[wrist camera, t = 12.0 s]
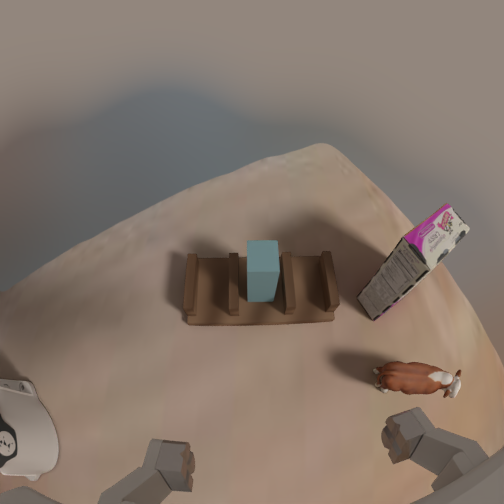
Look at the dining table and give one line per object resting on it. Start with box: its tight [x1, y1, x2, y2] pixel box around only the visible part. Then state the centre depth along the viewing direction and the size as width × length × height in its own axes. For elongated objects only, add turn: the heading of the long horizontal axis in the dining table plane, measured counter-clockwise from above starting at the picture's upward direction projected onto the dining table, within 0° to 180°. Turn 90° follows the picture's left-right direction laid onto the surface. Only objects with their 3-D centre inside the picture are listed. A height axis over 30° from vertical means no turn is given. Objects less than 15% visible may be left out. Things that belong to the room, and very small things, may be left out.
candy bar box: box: [357, 203, 470, 321], centre depth 32 cm, size 11×5×16 cm, turn 120°
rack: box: [183, 251, 340, 326], centre depth 38 cm, size 20×10×4 cm, turn 92°
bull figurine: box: [373, 361, 461, 398], centre depth 28 cm, size 4×13×8 cm, turn 68°
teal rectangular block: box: [247, 240, 280, 302], centre depth 34 cm, size 4×4×9 cm
